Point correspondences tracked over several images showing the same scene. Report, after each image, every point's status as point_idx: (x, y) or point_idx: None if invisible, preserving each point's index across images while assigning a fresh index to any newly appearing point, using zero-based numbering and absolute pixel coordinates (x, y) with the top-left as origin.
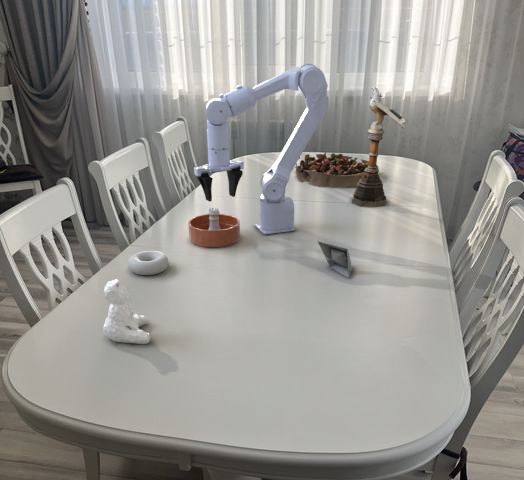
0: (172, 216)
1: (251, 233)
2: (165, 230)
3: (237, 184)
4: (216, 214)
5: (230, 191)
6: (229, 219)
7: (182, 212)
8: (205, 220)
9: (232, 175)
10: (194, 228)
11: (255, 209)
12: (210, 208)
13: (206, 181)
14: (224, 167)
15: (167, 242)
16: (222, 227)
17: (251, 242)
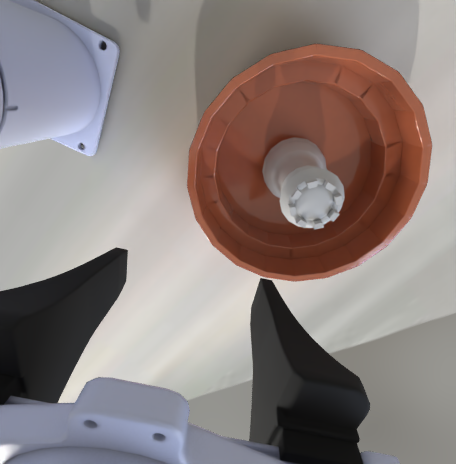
0: (238, 374)
1: (151, 109)
2: (330, 323)
3: (64, 274)
4: (324, 169)
5: (116, 286)
6: (200, 191)
7: (200, 376)
8: (262, 258)
9: (50, 348)
10: (426, 185)
11: (11, 270)
12: (316, 227)
13: (345, 371)
14: (143, 439)
15: (408, 256)
16: (224, 201)
17: (218, 21)
